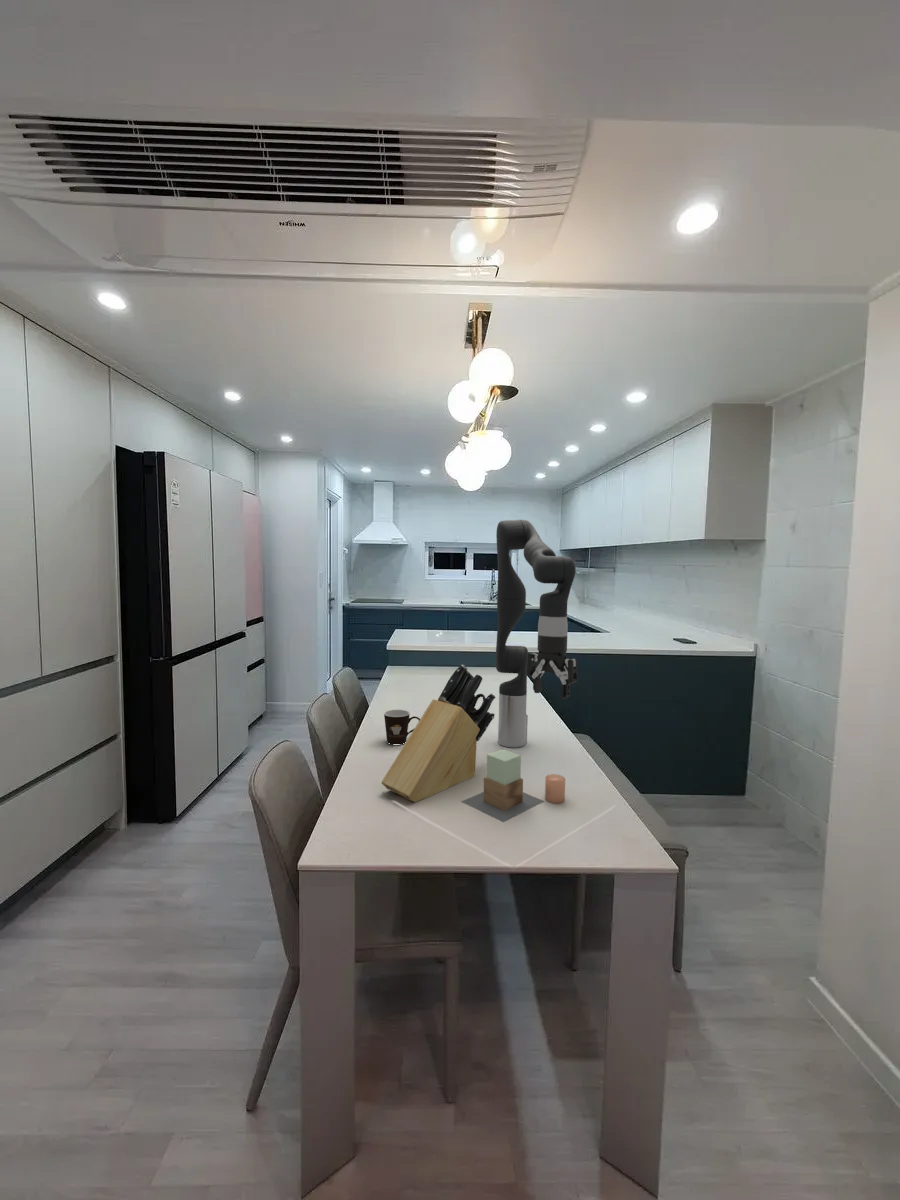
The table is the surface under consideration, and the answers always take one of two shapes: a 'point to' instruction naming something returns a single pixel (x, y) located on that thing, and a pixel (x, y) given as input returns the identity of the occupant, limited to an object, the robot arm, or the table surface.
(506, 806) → the bottom block
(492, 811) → the mat
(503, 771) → the top block
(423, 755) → the knife block
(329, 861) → the table surface
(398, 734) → the coffee mug
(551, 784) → the tan rounded cylinder
